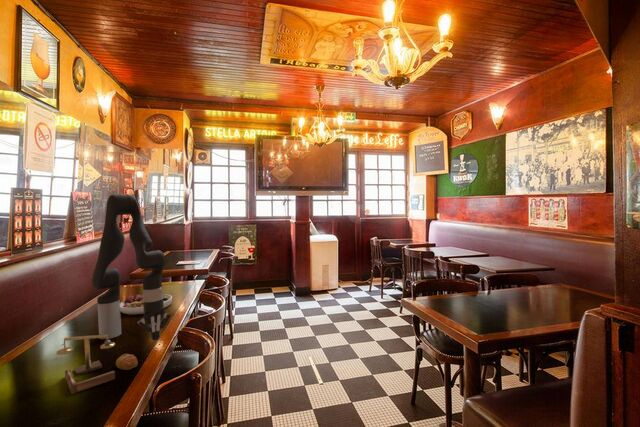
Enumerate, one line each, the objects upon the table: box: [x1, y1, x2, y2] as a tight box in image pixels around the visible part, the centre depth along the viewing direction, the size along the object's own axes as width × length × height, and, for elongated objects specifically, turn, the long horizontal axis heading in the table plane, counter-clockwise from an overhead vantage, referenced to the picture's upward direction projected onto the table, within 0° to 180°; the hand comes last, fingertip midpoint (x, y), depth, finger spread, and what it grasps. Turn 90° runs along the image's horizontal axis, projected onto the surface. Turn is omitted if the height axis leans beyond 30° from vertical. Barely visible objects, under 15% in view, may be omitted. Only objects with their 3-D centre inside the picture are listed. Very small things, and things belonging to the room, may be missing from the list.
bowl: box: [120, 293, 173, 315], centre depth 203 cm, size 30×30×8 cm
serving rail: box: [64, 368, 116, 395], centre depth 118 cm, size 16×13×3 cm
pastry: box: [115, 353, 139, 371], centre depth 127 cm, size 9×7×4 cm
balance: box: [55, 334, 116, 376], centre depth 125 cm, size 19×6×14 cm, turn 135°
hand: (155, 339), depth 134 cm, fingers closed
